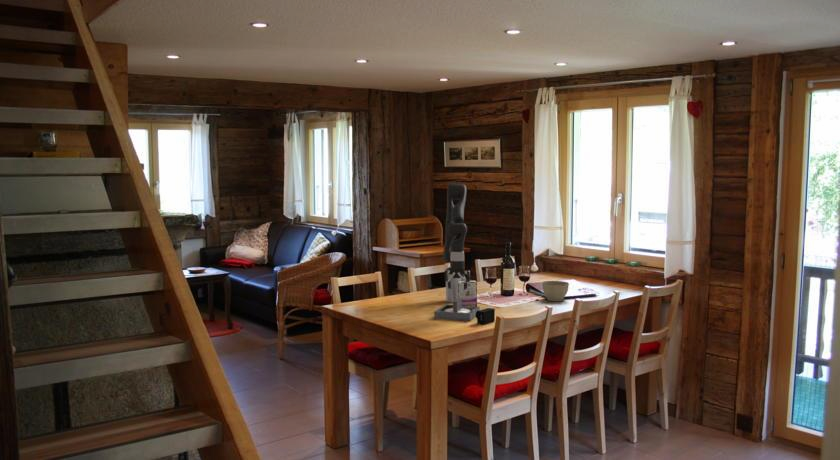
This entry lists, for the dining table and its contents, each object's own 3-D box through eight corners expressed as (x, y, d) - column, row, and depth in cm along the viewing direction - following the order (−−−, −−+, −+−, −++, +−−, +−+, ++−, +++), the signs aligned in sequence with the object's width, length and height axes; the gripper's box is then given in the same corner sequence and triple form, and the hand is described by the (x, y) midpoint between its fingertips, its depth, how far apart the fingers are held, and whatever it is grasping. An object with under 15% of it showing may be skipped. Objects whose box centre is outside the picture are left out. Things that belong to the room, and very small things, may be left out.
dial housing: (445, 311, 396) (445, 304, 395) (479, 313, 389) (479, 306, 389) (434, 318, 377) (434, 311, 376) (470, 321, 370) (470, 313, 370)
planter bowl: (570, 302, 418) (571, 284, 417) (544, 302, 419) (544, 285, 418) (565, 297, 434) (566, 280, 433) (539, 297, 435) (540, 280, 434)
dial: (448, 308, 392) (448, 296, 391) (473, 310, 387) (473, 298, 386) (441, 313, 378) (441, 301, 378) (466, 315, 374) (466, 303, 373)
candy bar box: (474, 308, 404) (475, 280, 403) (477, 309, 399) (477, 281, 398) (456, 309, 402) (456, 280, 401) (458, 310, 397) (458, 282, 396)
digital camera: (486, 320, 373) (486, 307, 373) (494, 321, 370) (494, 308, 369) (475, 323, 365) (475, 310, 365) (483, 325, 362) (483, 311, 361)
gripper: (471, 259, 381) (471, 288, 383) (446, 258, 386) (447, 287, 387) (468, 261, 374) (468, 290, 376) (442, 260, 379) (442, 289, 380)
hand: (457, 289), depth 381 cm, fingers open, 8 cm apart
